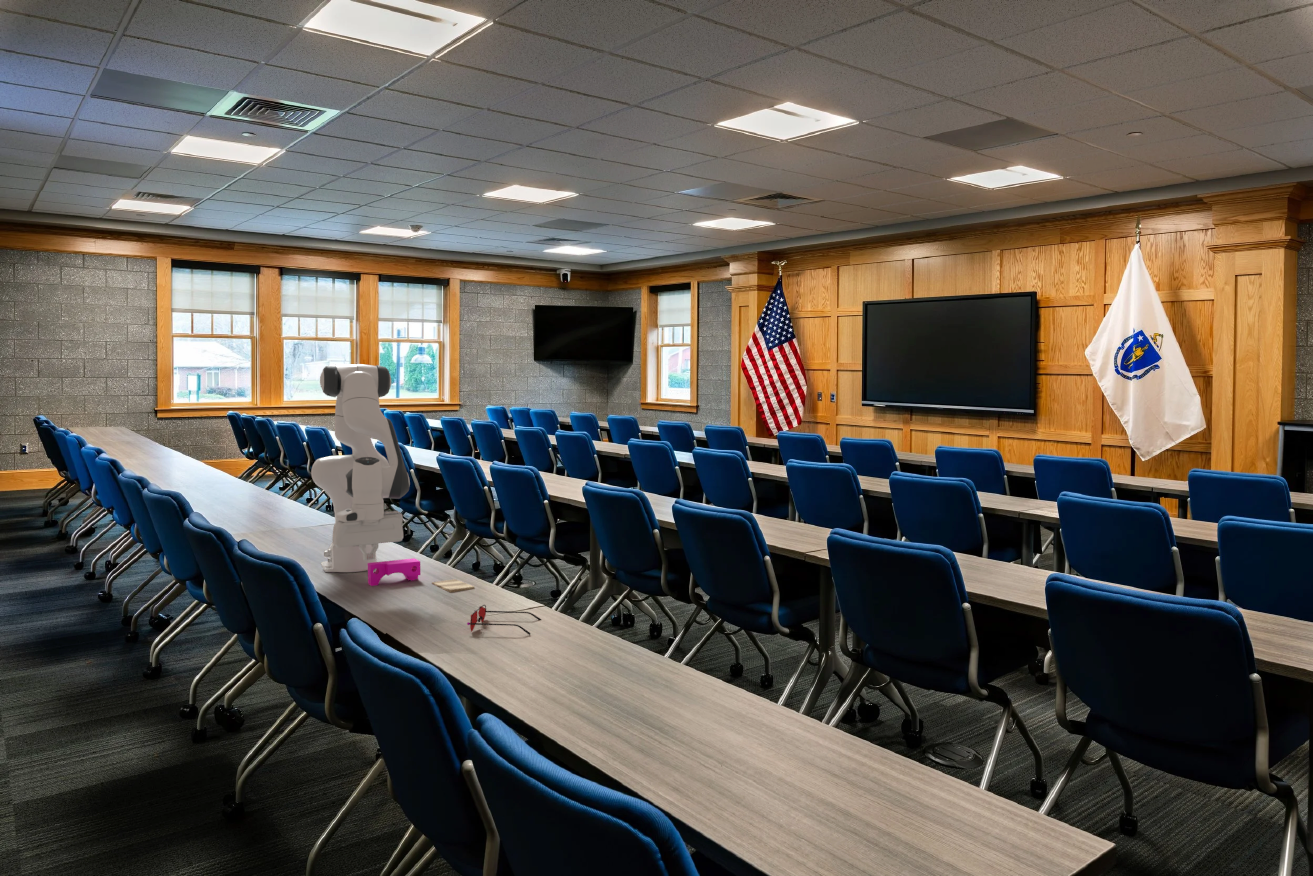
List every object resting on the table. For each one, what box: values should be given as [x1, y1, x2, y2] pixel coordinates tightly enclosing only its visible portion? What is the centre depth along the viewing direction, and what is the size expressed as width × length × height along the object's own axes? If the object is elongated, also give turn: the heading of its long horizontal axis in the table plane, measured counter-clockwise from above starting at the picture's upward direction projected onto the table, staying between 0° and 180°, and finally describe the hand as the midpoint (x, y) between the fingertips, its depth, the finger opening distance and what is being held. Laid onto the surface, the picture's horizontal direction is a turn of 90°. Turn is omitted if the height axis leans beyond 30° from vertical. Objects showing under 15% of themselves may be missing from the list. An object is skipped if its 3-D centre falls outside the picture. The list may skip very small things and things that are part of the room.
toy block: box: [367, 557, 422, 587], centre depth 284 cm, size 15×6×8 cm, turn 122°
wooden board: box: [431, 578, 475, 593], centre depth 279 cm, size 14×8×1 cm, turn 37°
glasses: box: [466, 604, 542, 636], centre depth 233 cm, size 14×16×5 cm
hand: (369, 559), depth 263 cm, fingers closed
